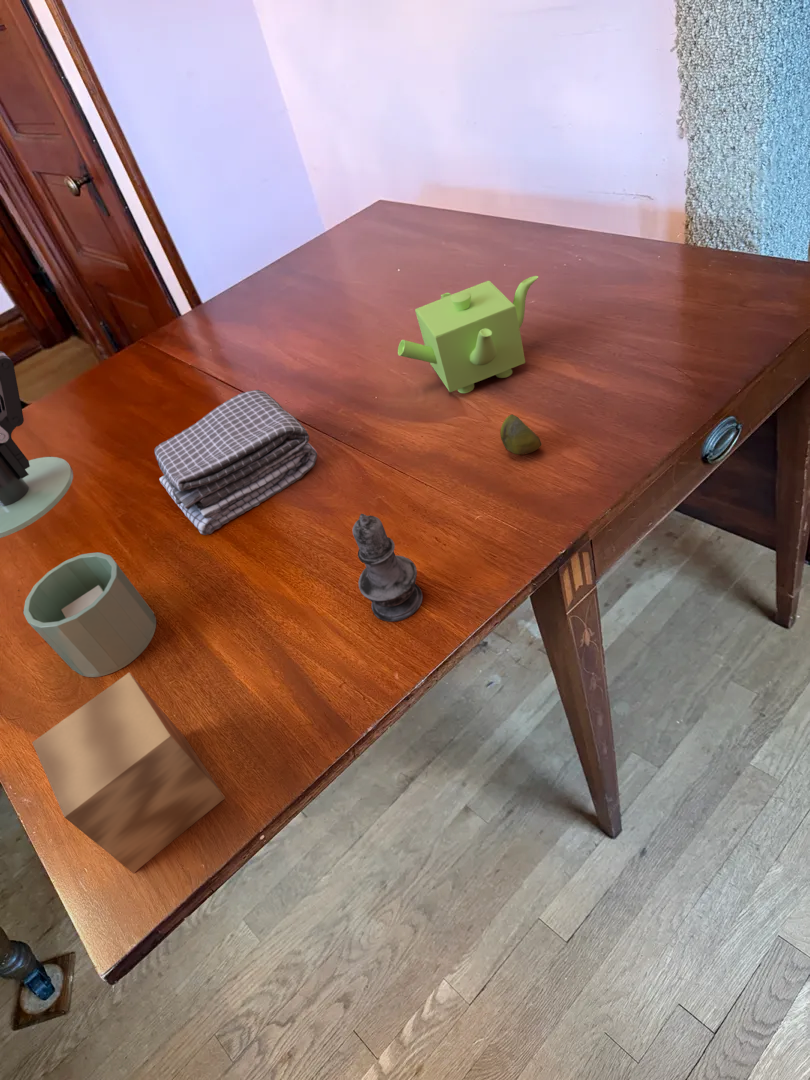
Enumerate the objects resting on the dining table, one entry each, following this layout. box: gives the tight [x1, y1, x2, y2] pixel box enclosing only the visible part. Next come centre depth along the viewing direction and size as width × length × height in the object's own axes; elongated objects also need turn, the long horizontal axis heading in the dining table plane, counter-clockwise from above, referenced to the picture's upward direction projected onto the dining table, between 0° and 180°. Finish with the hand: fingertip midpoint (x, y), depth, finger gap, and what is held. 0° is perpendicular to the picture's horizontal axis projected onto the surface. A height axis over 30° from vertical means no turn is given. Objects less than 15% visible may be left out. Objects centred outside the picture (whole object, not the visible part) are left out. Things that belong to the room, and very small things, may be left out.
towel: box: [154, 389, 318, 536], centre depth 95 cm, size 15×18×8 cm
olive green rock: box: [499, 413, 543, 455], centre depth 84 cm, size 4×5×5 cm
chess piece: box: [352, 513, 424, 623], centre depth 71 cm, size 6×6×12 cm
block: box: [61, 585, 103, 618], centre depth 80 cm, size 4×4×5 cm
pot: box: [23, 551, 157, 678], centre depth 79 cm, size 10×10×8 cm
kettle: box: [397, 275, 539, 394], centre depth 97 cm, size 15×14×11 cm
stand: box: [31, 672, 226, 874], centre depth 62 cm, size 9×9×10 cm
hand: (4, 483), depth 67 cm, fingers closed on lid, 3 cm apart
